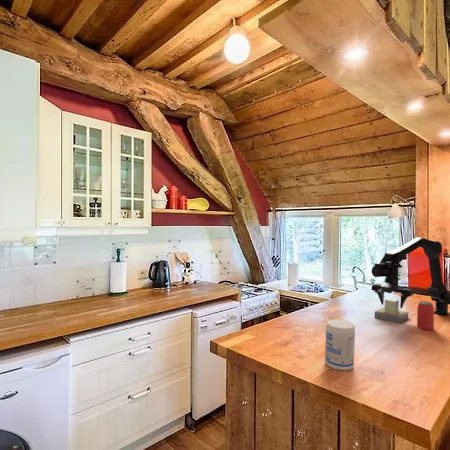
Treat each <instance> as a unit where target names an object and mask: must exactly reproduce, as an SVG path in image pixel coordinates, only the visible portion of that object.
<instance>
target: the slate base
mask: <svg viewBox="0 0 450 450" xmlns="http://www.w3.org/2000/svg"><path fill="white" fill-rule="evenodd" d="M374 318H377V319H380V320H385V321H390V322H393V323H397V324H401V323H402V322H403V321H406V320H408V319H409V312H408V311H403V310H400V309H399V312H397V313H395V314H394V313H389V312H385V306H384V307H382V308H379V309H378V310H375V311H374Z"/></svg>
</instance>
